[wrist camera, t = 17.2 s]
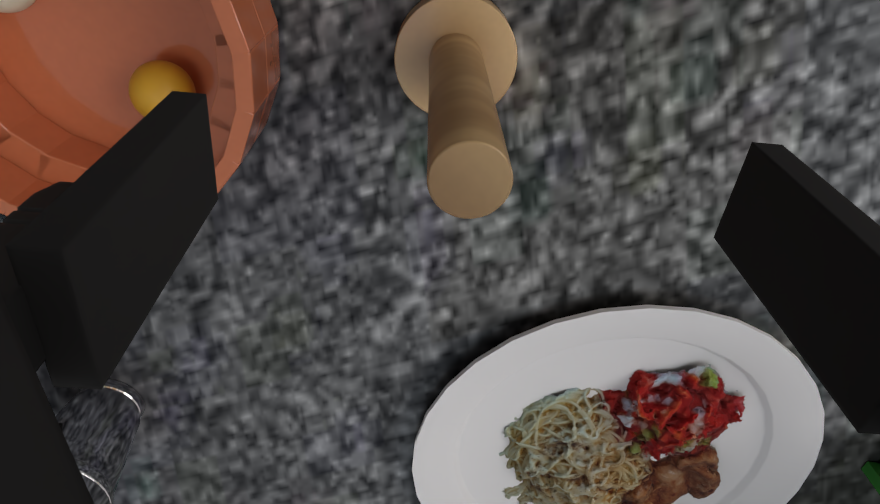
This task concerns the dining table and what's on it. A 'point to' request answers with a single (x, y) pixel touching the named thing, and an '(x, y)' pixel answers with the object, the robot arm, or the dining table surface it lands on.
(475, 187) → the masher
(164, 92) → the bead
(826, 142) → the dining table surface
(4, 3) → the bead
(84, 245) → the robot arm
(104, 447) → the cup with straw
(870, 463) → the hardback book
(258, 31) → the bowl
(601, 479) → the plated food
